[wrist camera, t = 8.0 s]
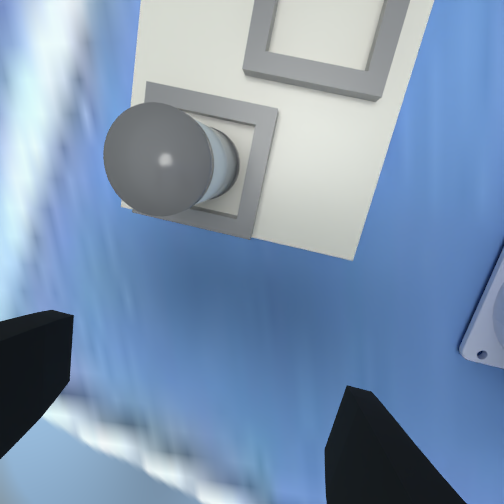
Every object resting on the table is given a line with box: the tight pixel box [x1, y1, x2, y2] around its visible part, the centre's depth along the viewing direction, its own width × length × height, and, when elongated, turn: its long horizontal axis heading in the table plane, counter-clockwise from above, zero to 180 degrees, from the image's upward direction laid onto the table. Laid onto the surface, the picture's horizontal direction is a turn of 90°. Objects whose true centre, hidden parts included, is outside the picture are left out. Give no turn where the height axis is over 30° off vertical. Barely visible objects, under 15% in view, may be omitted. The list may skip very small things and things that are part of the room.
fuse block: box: [121, 0, 434, 261], centre depth 14 cm, size 12×13×2 cm
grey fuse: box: [103, 102, 240, 217], centre depth 13 cm, size 3×3×6 cm
